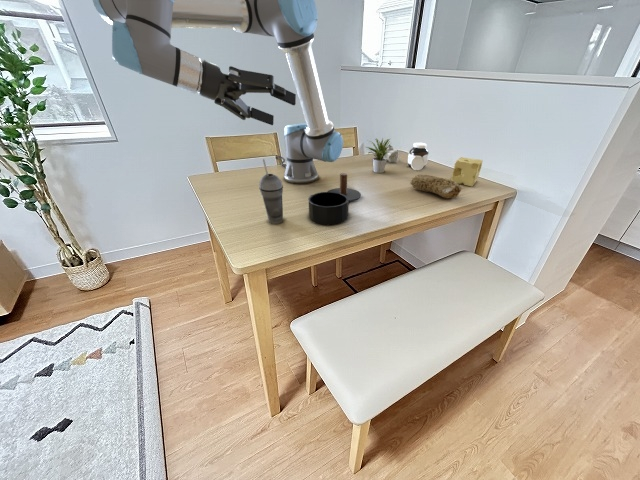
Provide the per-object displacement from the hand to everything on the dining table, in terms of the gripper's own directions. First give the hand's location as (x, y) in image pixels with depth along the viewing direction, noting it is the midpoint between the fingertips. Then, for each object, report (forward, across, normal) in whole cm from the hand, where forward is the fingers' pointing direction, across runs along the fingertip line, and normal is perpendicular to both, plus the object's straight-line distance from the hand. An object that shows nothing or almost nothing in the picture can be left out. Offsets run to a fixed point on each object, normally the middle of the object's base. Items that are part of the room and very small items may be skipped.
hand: (283, 111), depth 78 cm
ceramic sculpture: (+83, +36, -18) cm, 92 cm away
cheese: (+91, -6, +2) cm, 91 cm away
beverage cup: (+6, +16, +29) cm, 33 cm away
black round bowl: (+21, +7, +26) cm, 35 cm away
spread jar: (+87, +19, -10) cm, 90 cm away
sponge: (+68, -4, +11) cm, 69 cm away
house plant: (+68, +28, -6) cm, 73 cm away
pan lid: (+34, +16, +15) cm, 41 cm away
